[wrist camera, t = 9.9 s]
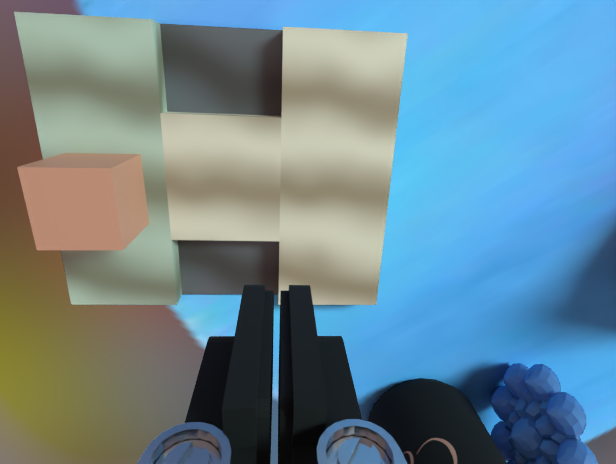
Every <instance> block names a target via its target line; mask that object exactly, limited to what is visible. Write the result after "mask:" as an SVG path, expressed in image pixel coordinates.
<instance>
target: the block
mask: <svg viewBox="0 0 616 464" xmlns="http://www.w3.org/2000/svg"><path fill="white" fill-rule="evenodd" d="M17 168H18V172H19V177H20V181H21V185H22V189H23V194H24V198H25V202H26V207H27V211H28V215H29V219H30V224H31V228H32V232H33V237H34V241H35V245H36V249H37V250H124V249H125V248H126V247H127V246H128V245H129V244H130V243H131V242H132V241H133V240H134V239H135V238H136V237H137V236H138V234H139V233H140V232H141V231H142V230H143V229H144V228H145V227H146V226H147V225H148V224H149V217H148V209H147V201H146V193H145V185H144V176H143V168H142V160H141V154H104V153H62V154H59V155H56V156H52V157H49V158H46V159H42V160H39V161H36V162H32V163H29V164H26V165H23V166H19V167H17Z"/></svg>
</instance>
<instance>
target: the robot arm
mask: <svg viewBox="0 0 616 464" xmlns="http://www.w3.org/2000/svg"><path fill="white" fill-rule="evenodd" d="M273 314H274V290H266V285H244V288H243V293H242V299H241V304H240V310H239V316H238V321H237V327H236V332H235V336H219V337H209V339H208V342H207V345H206V349H205V352H204V356H203V360H202V363H201V367H200V370H199V374H198V377H197V381H196V385H195V389H194V392H193V396H192V399H191V403H190V406H189V410H188V413H187V417H186V421H185V423H184V424H180V425H177V426H174V427H172V428H170V429H168V430H166V431H165V432H163V433H161V434H160V435H159V436H158V437H157V438H155V439H154V440H153V441H152V442H151V443H150V444H149V446H148V447H147V449H146V450H145V451H144V453H143V454H142V456H141V458H140V460H139V462H138V463H137V464H270V454H271V419H272V416H271V415H272V381H273ZM278 403H279V404H278V409H279V410H278V464H407V462H406V460H405V458H404V456H403V453H402V451H401V449H400V447H399V446H398V444H397V443H396V441H395V440H394V438H393V437H392V436H391V435H390V434H389V433H388V432H386V431H385V430H384V429H383V428H381V427H379V426H378V425H376V424H374V423H372V422H369V421H364V420H362V418H361V414H360V410H359V405H358V401H357V397H356V393H355V388H354V384H353V380H352V376H351V372H350V367H349V363H348V359H347V355H346V351H345V346H344V342H343V339H342V337H341V336H317V330H316V323H315V316H314V309H313V302H312V295H311V288H310V285H289V291H281V294H280V341H279V396H278Z"/></svg>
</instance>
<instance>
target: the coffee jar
mask: <svg viewBox="0 0 616 464" xmlns="http://www.w3.org/2000/svg"><path fill="white" fill-rule="evenodd" d="M368 421H369V422H372V423H374V424H376V425H378V426H379V427H381V428H383V429H384V430H385V431H386V432H388V433H389V434H390V435H391V436H392V437H393V438H394V440H395V441H396V443H397V444H398V446H399V447H400V449H401V451H402V453H403V456H404V458H405V460H406V462H407V464H507V463H506V461H505V459H504V458H503V456H502V454H501V453H500V451H499V449H498V448H497V446H496V444H495V443H494V441H493V439H492V438H491V436H490V434H489V433H488V431H487V429H486V428H485V426H484V424H483V423H482V421H481V420H480V418H479V416H478V415H477V413H476V411H475V410H474V408H473V406H472V405H471V403H470V401H469V400H468V398H467V397H466V396H465V395H463V394H462V393H461V392H460V391H459V390H458V389H456V388H455V387H453V386H450V385H448V384H445V383H443V382H440V381H437V380H434V379H422V378H420V379H415V380H409V381H405V382H402V383H400V384H398V385H396V386H394V387H392V388H390V389H389V390H388V391H387V392H385V393H384V394H383V395H382V396H381V397H380V398H379V399H378V401H377V402H376V404H375V405H374V407H373V409H372V411H371V412H370V416H369V420H368Z"/></svg>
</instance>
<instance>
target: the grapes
mask: <svg viewBox="0 0 616 464" xmlns="http://www.w3.org/2000/svg"><path fill="white" fill-rule="evenodd" d="M504 383H505V385H506V386H500V387H498V388H497V389H496V390H495V392H494V394H493V396H492V399H491V404H492V407H493V409H494V411H495V413H496V414H497V415H498V417H499V418H500V419H501V420H503V421H500V422H498V423H497V424H496V425H495V426H494V428H493V430H492V432H491V438H492V439H493V441H494V443H495V444H496V446H497V448H498V449H499V451H500V453H501V454H502V456H503V458H504V459H505V460H506V461H508V462H507V464H598V462H597V460H596V458H595V456H594V454H593V453H592V451H591V450H590V449H589V448H588V446H587V445H586V444H584V443H583V442H581V439H580V437H579V436H580V435H581V434H582V433H583V432H584V429H585V427H586V414H585V412H584V410H583V408H582V406H581V405H580V404H579V402H578V401H577V400H576V399H575V398H574V397H573V396H571V395H569V394H568V393H566V392H561V385H560V382H559V380H558V378H557V376H556V374H555V373H554V372H553V371H552V370H551V369H550V368H549V367H547V366H545V365H543V364H535V365H533V366H532V367H531V368H530V369H528V367H526V366H524V365H522V364H521V363H518V364H512V365H511V366H510V367H509V368H508V369H507V371H506V373H505V376H504Z"/></svg>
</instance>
